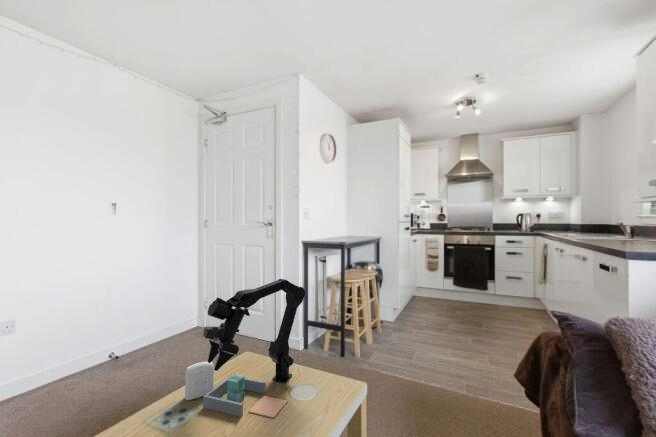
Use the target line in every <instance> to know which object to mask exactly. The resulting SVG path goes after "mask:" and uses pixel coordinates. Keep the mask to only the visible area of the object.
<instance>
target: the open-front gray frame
mask: <svg viewBox="0 0 656 437" xmlns="http://www.w3.org/2000/svg"><path fill="white" fill-rule="evenodd" d="M232 376H233V375H230V376H229V377H228V378H225V380H223V381H222V382H221V383H218V385H216V386H214V389H213V390H211V391H210V392H208V393H207V394H206V395H204V396H202V397H203V398H202V401H203V402H202V408H203V409H207V410H211V411H215V412H220V413H224V414H228V415H230V416H231V415H232V416H237V417H240V418H241V417H242V418H243V415H244V414H243V413H244V403H242V402H234V401H230V400H227V398H226V399H224V398H221V397H222V396H223V395H224V394H225V393H227V380H228V379H229V378H231V377H232ZM266 385H267V382H266V381H262V380H257V379H252V378H248V377H245V391H250V392H255V393H259V394H266V393H267V390H266V389H267V388H266V387H267V386H266Z"/></svg>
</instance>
